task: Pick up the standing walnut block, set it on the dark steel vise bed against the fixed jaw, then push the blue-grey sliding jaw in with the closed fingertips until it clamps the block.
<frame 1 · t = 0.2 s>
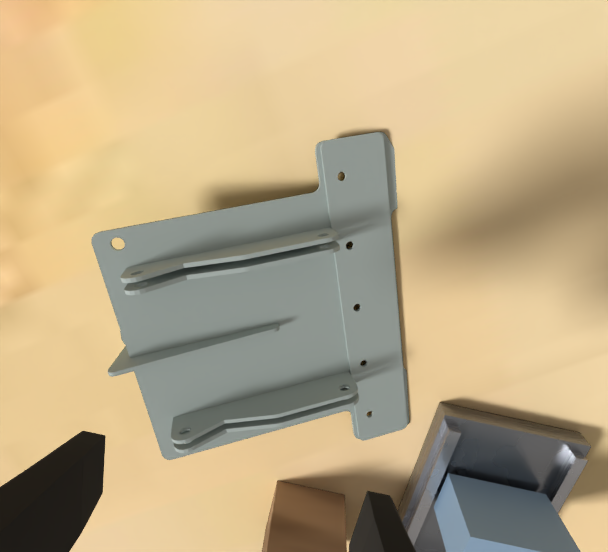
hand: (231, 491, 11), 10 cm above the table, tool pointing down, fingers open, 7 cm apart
block: (304, 512, 24), on the table
jaw: (501, 533, 20), point 3 cm above the table, slide at 5.0 cm
vise: (461, 520, 23), on the table
metal bracket: (272, 305, 20), on the table
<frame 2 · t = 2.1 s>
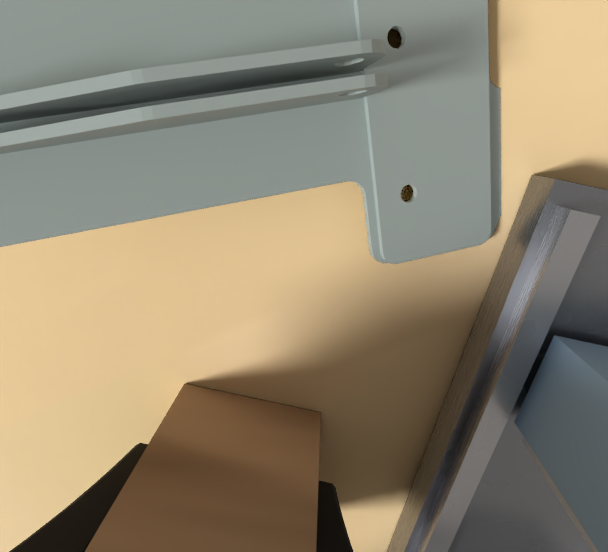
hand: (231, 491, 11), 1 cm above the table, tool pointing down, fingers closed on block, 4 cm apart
block: (242, 452, 12), on the table, touching gripper
vise: (557, 463, 12), on the table
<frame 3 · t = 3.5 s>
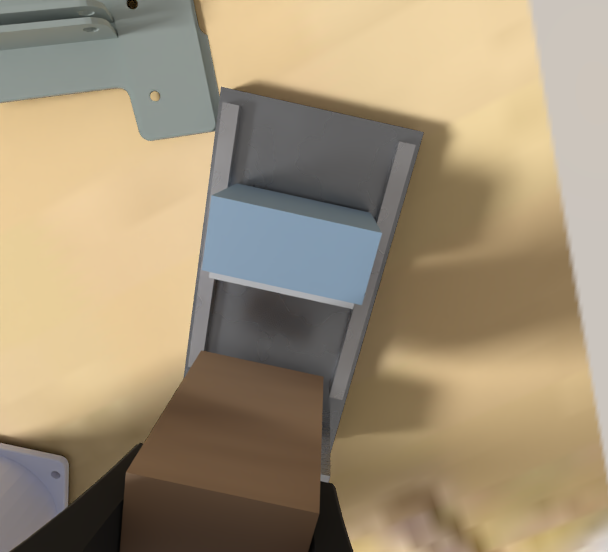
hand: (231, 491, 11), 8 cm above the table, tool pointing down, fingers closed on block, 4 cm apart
block: (252, 414, 14), point 6 cm above the table, touching gripper
jaw: (293, 242, 14), point 3 cm above the table, slide at 5.0 cm
vise: (285, 289, 18), on the table
when the fingers open (3 cm above the table, at t = 4.9 s): block stays where it is, resting on vise.
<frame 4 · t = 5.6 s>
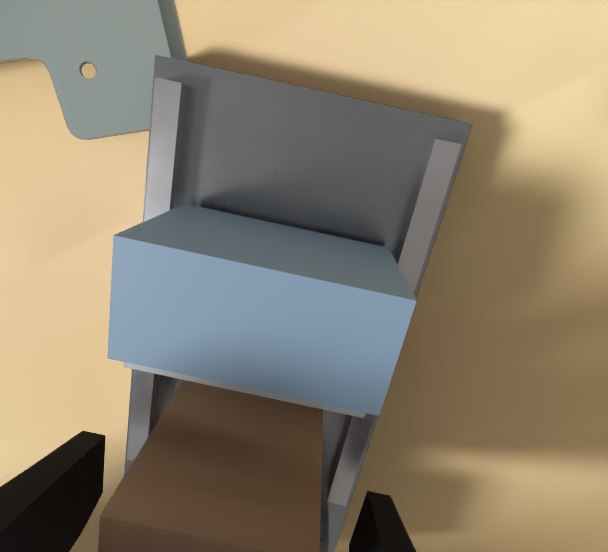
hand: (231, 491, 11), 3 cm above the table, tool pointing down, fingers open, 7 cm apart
block: (247, 434, 13), point 1 cm above the table, touching vise
jaw: (267, 301, 9), point 3 cm above the table, slide at 5.0 cm
vise: (265, 348, 13), on the table
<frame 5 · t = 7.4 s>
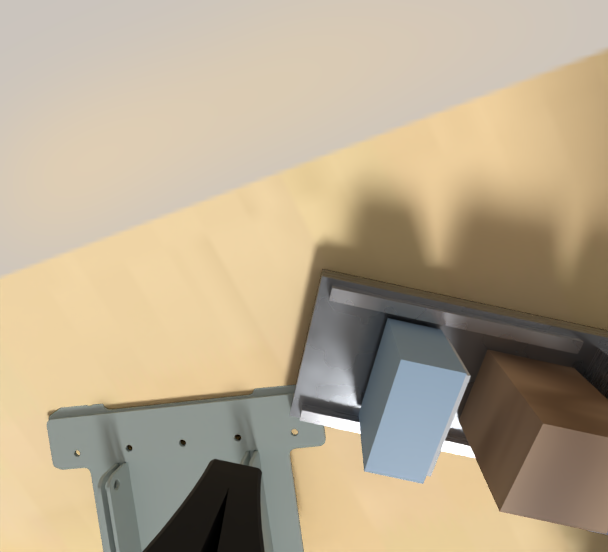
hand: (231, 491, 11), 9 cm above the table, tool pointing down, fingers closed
block: (514, 395, 19), point 1 cm above the table, touching vise
jaw: (408, 397, 17), point 3 cm above the table, slide at 5.0 cm
vise: (455, 372, 20), on the table
metal bracket: (209, 482, 24), on the table, touching vise
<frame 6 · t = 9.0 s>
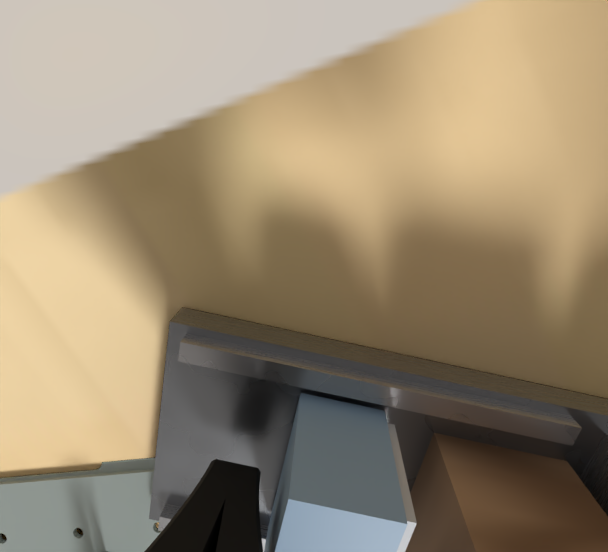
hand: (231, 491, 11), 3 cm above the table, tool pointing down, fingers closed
block: (477, 497, 12), point 1 cm above the table, touching vise
jaw: (326, 526, 10), point 3 cm above the table, slide at 4.2 cm, touching gripper
vise: (392, 456, 13), on the table
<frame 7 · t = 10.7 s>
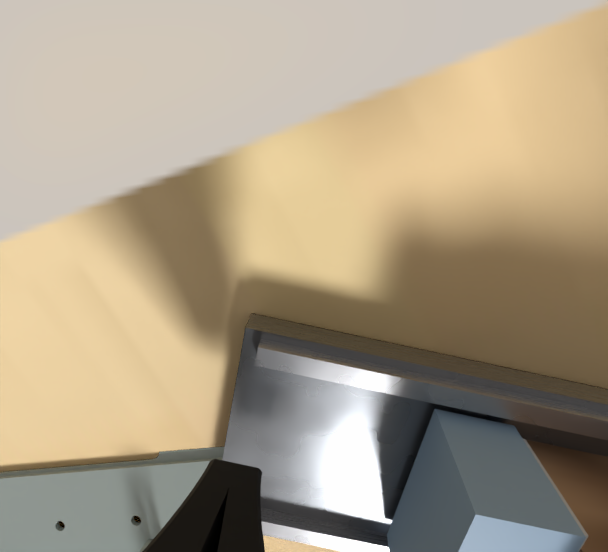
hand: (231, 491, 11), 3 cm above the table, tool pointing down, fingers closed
block: (549, 498, 13), point 1 cm above the table, touching jaw, vise
jaw: (469, 536, 11), point 3 cm above the table, slide at 2.3 cm, touching block
vise: (447, 455, 14), on the table
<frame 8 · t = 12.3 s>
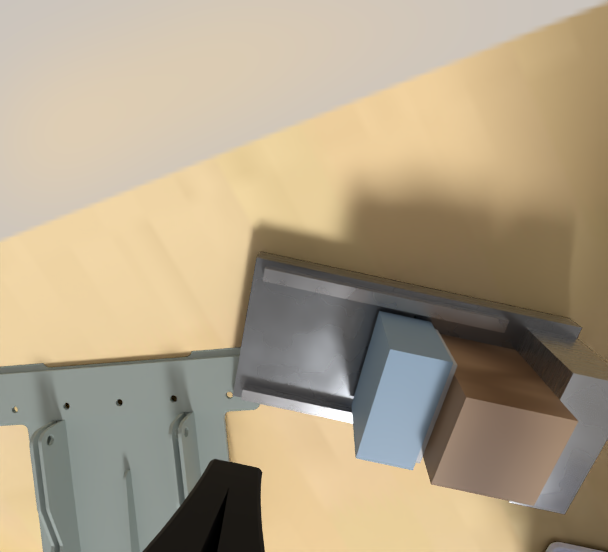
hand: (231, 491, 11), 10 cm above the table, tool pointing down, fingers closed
block: (459, 377, 19), point 1 cm above the table, touching jaw, vise
jaw: (398, 387, 17), point 3 cm above the table, slide at 2.3 cm, touching block
vise: (393, 353, 20), on the table
metal bracket: (150, 446, 24), on the table, touching vise
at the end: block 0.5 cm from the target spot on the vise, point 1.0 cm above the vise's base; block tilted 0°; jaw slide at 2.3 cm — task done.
